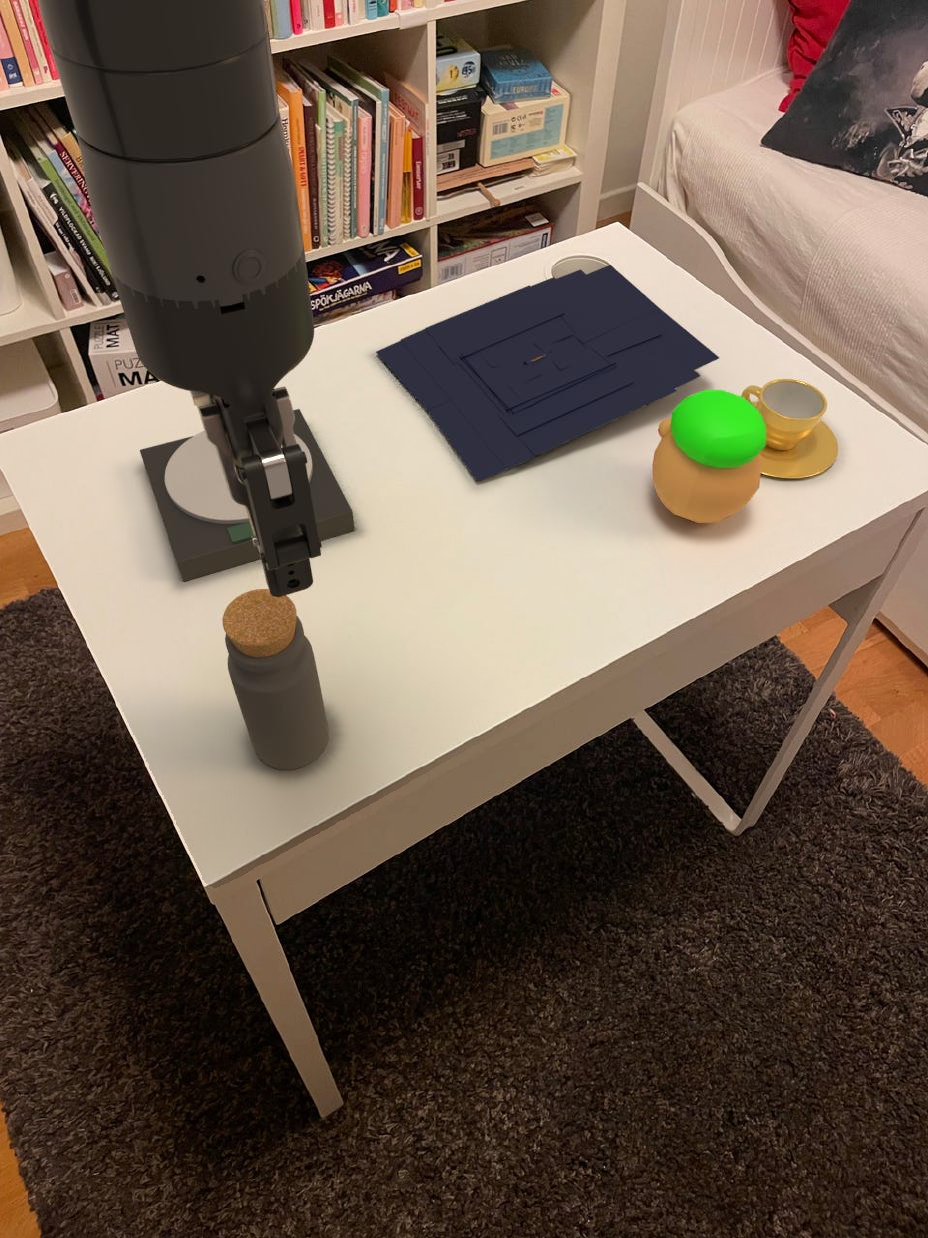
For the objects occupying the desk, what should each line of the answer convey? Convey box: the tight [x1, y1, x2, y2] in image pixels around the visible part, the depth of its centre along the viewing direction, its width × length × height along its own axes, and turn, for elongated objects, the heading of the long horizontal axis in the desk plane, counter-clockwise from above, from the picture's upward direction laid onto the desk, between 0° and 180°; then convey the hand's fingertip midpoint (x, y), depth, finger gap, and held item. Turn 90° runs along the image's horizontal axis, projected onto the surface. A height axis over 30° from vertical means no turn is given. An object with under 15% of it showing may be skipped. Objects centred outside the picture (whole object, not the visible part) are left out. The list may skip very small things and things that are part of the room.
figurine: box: [651, 389, 766, 524], centre depth 81 cm, size 11×10×12 cm
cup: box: [740, 378, 839, 479], centre depth 89 cm, size 12×12×5 cm
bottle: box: [221, 588, 329, 771], centre depth 63 cm, size 6×6×15 cm
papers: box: [375, 264, 720, 482], centre depth 97 cm, size 24×30×4 cm
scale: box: [139, 408, 355, 582], centre depth 84 cm, size 16×16×3 cm
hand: (268, 532), depth 47 cm, fingers open, 8 cm apart
